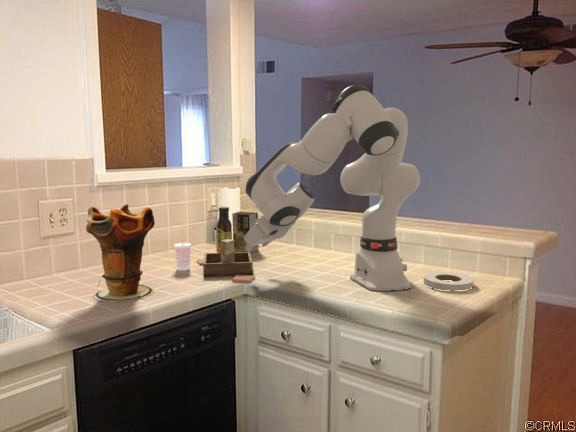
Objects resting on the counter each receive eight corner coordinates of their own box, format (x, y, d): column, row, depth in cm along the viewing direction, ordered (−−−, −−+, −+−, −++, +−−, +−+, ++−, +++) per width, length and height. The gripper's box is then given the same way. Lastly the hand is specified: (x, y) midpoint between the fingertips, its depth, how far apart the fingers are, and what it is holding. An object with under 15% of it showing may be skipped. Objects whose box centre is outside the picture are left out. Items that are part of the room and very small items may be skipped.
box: (252, 275, 179) (252, 262, 179) (203, 276, 177) (203, 264, 176) (249, 263, 196) (249, 251, 195) (204, 265, 194) (204, 253, 193)
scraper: (243, 267, 187) (242, 240, 185) (232, 271, 181) (231, 243, 180) (223, 264, 192) (223, 237, 190) (212, 267, 186) (211, 240, 185)
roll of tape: (482, 286, 166) (482, 278, 166) (456, 296, 156) (456, 287, 156) (440, 277, 178) (440, 268, 177) (413, 285, 168) (413, 276, 167)
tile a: (215, 265, 196) (215, 261, 195) (200, 266, 193) (199, 263, 193) (212, 261, 201) (212, 258, 201) (196, 263, 199) (196, 259, 199)
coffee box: (258, 250, 219) (258, 212, 217) (249, 253, 214) (249, 214, 211) (241, 247, 224) (241, 210, 222) (232, 250, 219) (231, 212, 216)
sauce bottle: (215, 254, 211) (214, 206, 208) (230, 253, 213) (229, 205, 210) (218, 258, 205) (217, 208, 202) (233, 257, 207) (232, 207, 204)
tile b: (249, 284, 170) (249, 280, 170) (232, 283, 171) (232, 279, 171) (254, 279, 176) (254, 275, 176) (237, 278, 177) (237, 274, 177)
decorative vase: (129, 277, 175) (128, 195, 170) (173, 293, 160) (172, 204, 155) (70, 292, 159) (66, 202, 154) (113, 311, 145) (110, 213, 139)
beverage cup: (194, 266, 191) (192, 229, 189) (189, 271, 185) (188, 232, 183) (177, 266, 192) (176, 229, 190) (172, 270, 186) (171, 232, 184)
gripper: (290, 210, 182) (267, 235, 188) (255, 218, 165) (231, 245, 172) (300, 224, 180) (277, 248, 187) (266, 233, 163) (242, 259, 170)
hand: (255, 247), depth 179 cm, fingers open, 8 cm apart
